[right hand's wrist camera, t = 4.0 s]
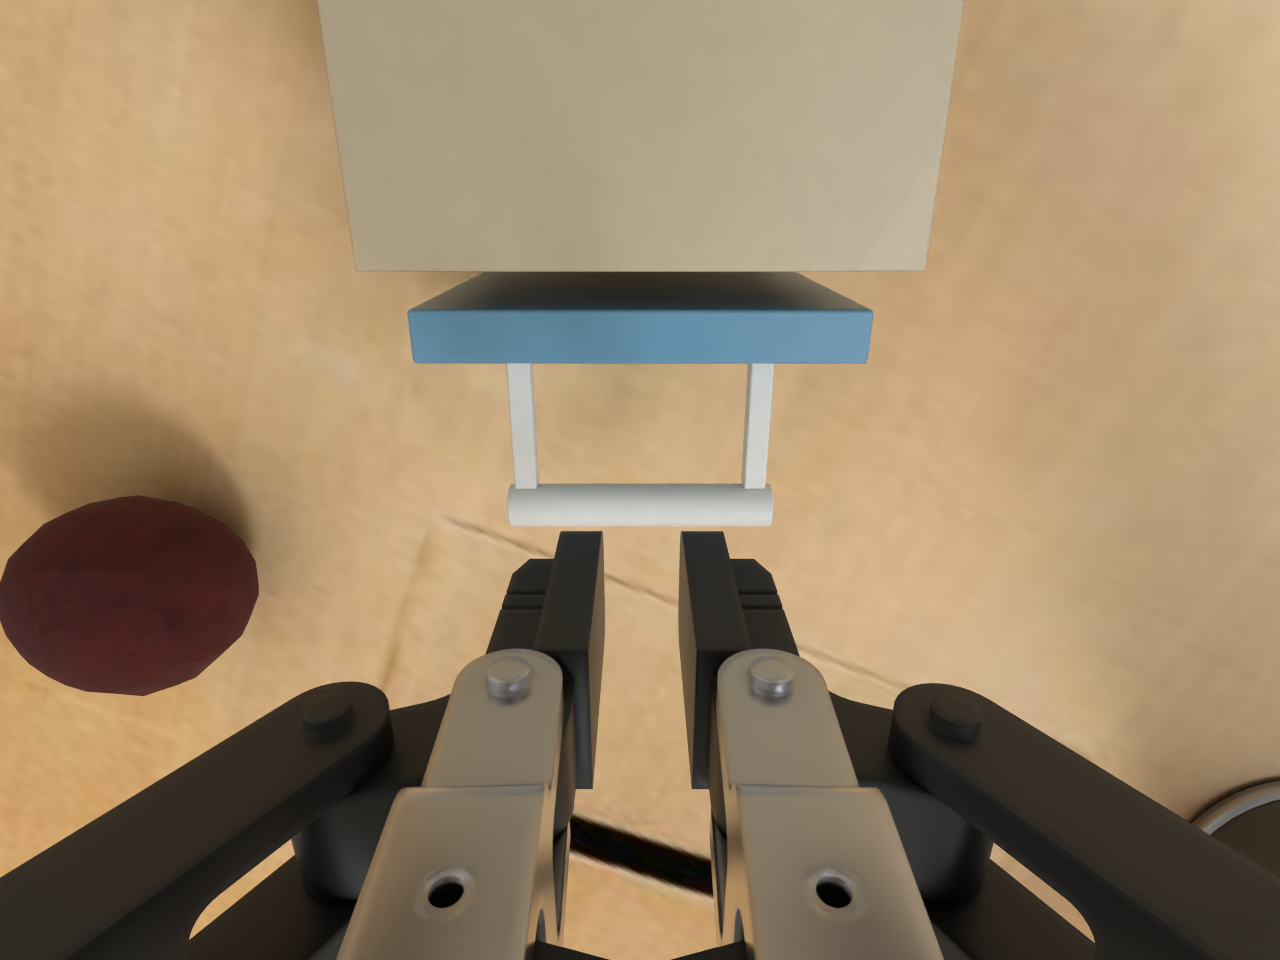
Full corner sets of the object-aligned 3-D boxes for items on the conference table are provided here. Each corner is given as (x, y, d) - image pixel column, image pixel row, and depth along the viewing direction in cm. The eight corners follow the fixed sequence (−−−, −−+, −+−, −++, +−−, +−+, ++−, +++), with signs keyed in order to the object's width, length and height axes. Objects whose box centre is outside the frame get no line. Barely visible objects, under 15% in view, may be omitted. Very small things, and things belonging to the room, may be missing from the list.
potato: (70, 477, 28) (-103, 562, 22) (261, 459, 28) (145, 539, 21) (137, 634, 31) (2, 751, 24) (311, 618, 31) (222, 734, 24)
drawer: (775, 443, 27) (843, 569, 18) (504, 443, 27) (437, 568, 18) (823, -187, 20) (973, -499, 11) (456, -187, 20) (307, -499, 11)
